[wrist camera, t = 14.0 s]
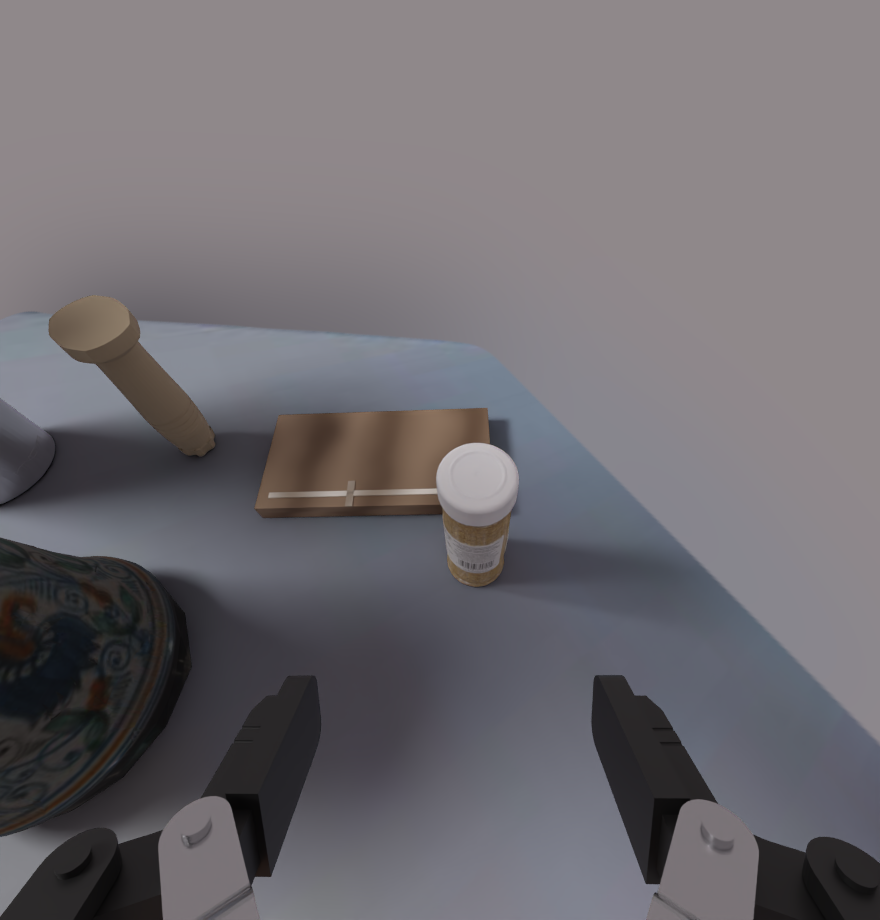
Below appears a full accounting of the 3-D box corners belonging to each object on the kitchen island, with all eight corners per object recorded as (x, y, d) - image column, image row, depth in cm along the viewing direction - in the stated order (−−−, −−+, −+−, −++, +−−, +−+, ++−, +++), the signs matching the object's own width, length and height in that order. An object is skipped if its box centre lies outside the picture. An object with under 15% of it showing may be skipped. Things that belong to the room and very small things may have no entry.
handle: (204, 414, 45) (99, 287, 32) (240, 445, 42) (144, 320, 30) (162, 445, 43) (34, 322, 30) (198, 479, 40) (76, 361, 28)
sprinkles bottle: (510, 543, 35) (529, 451, 24) (494, 597, 33) (506, 523, 22) (457, 526, 36) (451, 430, 25) (437, 577, 34) (422, 497, 23)
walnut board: (262, 517, 38) (253, 508, 36) (285, 426, 43) (278, 414, 42) (493, 512, 37) (494, 502, 35) (486, 419, 42) (487, 407, 41)
